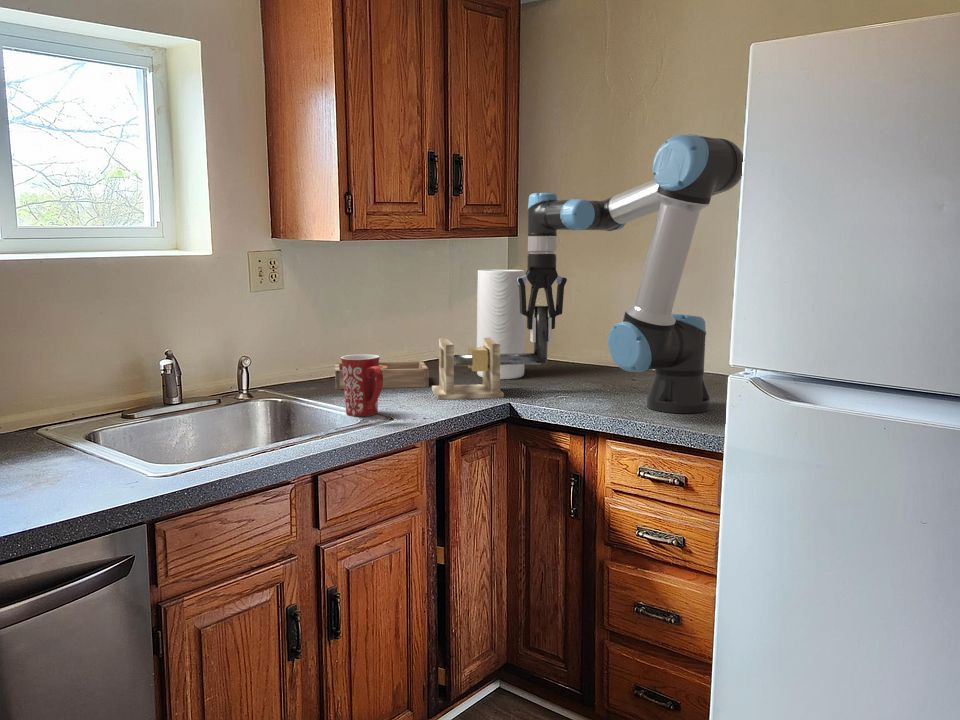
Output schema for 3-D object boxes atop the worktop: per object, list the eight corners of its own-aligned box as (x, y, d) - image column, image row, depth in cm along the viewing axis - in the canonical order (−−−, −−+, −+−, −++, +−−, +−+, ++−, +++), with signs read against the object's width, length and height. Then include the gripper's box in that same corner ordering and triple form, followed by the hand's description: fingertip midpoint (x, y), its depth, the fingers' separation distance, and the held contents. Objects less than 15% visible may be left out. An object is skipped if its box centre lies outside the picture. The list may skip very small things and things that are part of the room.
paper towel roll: (511, 381, 242) (512, 271, 238) (468, 377, 249) (468, 270, 245) (532, 374, 255) (533, 270, 251) (490, 371, 262) (490, 269, 257)
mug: (334, 412, 198) (333, 356, 196) (368, 408, 204) (367, 352, 202) (362, 421, 188) (361, 362, 186) (396, 416, 194) (395, 358, 192)
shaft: (545, 362, 228) (546, 305, 226) (548, 364, 224) (549, 306, 222) (450, 365, 223) (450, 306, 221) (452, 367, 220) (452, 307, 218)
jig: (493, 388, 232) (493, 337, 230) (503, 397, 218) (504, 343, 216) (431, 390, 229) (431, 338, 227) (438, 399, 215) (438, 345, 213)
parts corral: (428, 386, 234) (428, 368, 233) (335, 389, 229) (335, 371, 229) (422, 377, 249) (422, 361, 248) (335, 380, 244) (334, 363, 244)
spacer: (487, 371, 220) (487, 350, 219) (472, 371, 219) (472, 350, 218) (482, 367, 227) (483, 346, 226) (468, 367, 226) (468, 347, 225)
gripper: (568, 252, 227) (566, 339, 230) (507, 252, 224) (507, 340, 227) (576, 253, 219) (574, 342, 223) (514, 253, 216) (513, 343, 220)
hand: (540, 341), depth 225 cm, fingers closed on shaft, 4 cm apart
